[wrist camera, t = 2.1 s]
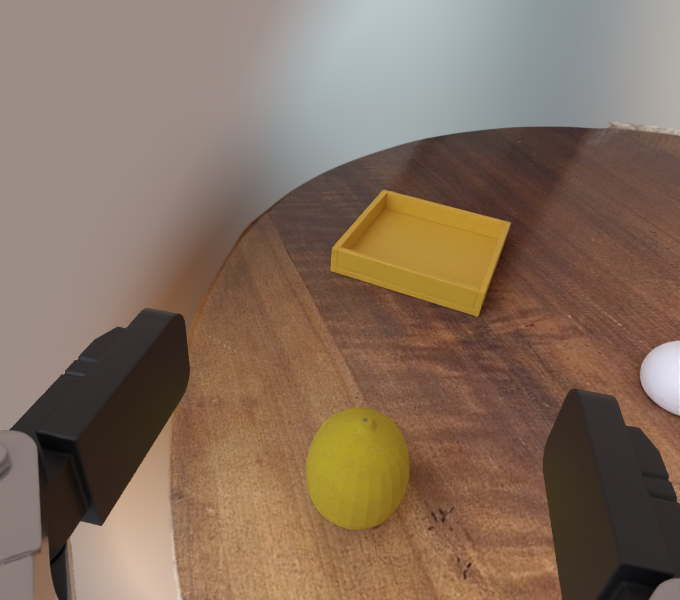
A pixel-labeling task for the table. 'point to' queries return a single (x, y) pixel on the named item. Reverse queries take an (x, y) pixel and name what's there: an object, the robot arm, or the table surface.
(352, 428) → the lemon
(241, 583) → the table surface
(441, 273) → the yellow tray
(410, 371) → the table surface
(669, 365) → the garlic bulb
